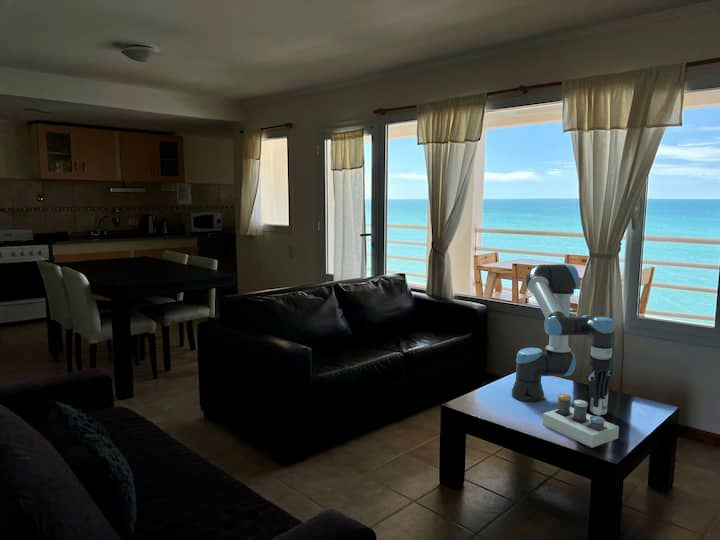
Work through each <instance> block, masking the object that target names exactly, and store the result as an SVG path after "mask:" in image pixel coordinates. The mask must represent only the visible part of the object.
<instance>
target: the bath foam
mask: <svg viewBox="0 0 720 540" xmlns="http://www.w3.org/2000/svg"><path fill="white" fill-rule="evenodd" d="M604 397H606V399H603V404H602V415H606V414H607V413H608V406H609V405H608V403H609V392H608V393H607V396H604ZM593 401H594V399H593V398H591V397H590V405H589V411H590V412H591V413H593V407H594V406H593ZM593 414H594V413H593ZM602 415H601V416H602Z"/></svg>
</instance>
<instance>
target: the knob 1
mask: <svg viewBox="0 0 720 540" xmlns="http://www.w3.org/2000/svg"><path fill="white" fill-rule="evenodd" d="M557 400H558V401H557V409H558V414H559V415H562V416H569V415H570V407H571V401H572V395H570V394H567V393H559V394H557Z"/></svg>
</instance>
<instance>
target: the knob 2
mask: <svg viewBox="0 0 720 540" xmlns="http://www.w3.org/2000/svg"><path fill="white" fill-rule="evenodd" d="M588 405H589V404H588V401H586V400H583V399H574V400H573V408H574V419H573V420H574V421H576V422H578V423H586V414H588V413H587V410H588Z"/></svg>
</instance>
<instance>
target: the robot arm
mask: <svg viewBox="0 0 720 540" xmlns="http://www.w3.org/2000/svg"><path fill="white" fill-rule="evenodd" d="M525 285H526V288H527V290H528V291H529V293H530V294H532V295H533V296H534V298H535V301H536V302H537V305H538V307H539V308H540V310H541V312H542V314H543V316H544V318H545V319H544V323H543V329H544V331H545V333H546V334H547V335H548V336H549V337H548V339H549V340H548V344H547V345H546V346H545V348H544V349H545V350H544V351H543V350H542V349H541V348H538V347H525V348H522V349H520V350H518V352H517V353H516V359H515V361H516V363H515V364H516V367H515V368H516V369H515V381H514V384H513V387H512V389H511V397H513V398H514V399H515V400H516V399H517V400H518V401H522V402H527V403H528V402H529V403H535V402H536V403H537V402H542V401H544V399H545V391H544V389H543V385H542V377H560V378H561V377H562V378H563V377H568V376H569V377H570V376H571V375H572V374H573V373H574V371H575V369H576V364H577V363H576V362H577V361H576V360H577V359H576V355H575V354H574V352H572V349H571V347H569V336H585V337H586V336H589V337H591V343H590V344H591V346H590V360H589V365H590V367H591V368H592V369H591V373H590V375H587V376H586V379H587V382H588V383H587V384H588V393H589V397H590V399H591V398H593V399H594V401H593V406H594V407H593V414H594V415H595V416H602V404H603V399H606V397H604V396H607V393H608V394H609V388H610V385H611V379H612V377H613V373H614V372H613V371H610V369H611V368H612V357H613V356H612V355H613V343H614V334H615V333H614V332H615V321H614V319H613V318H611V317H606V316H593V315H589V314H584V315H582V316H570V311H571V310H570V308H571V297H572V296H573V295H574V293H575V290H577V289H578V288H579V286H580V276H579V272H578V269H577V268H576V267H575V266H574V265H572V264H565V263H564V264H562V263H561V264H560V263H559V264H557V263H556V264H539V265H536V266H534V267H533V268H532V269H530V270H529V272H528V273H527V275H526V278H525Z"/></svg>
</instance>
